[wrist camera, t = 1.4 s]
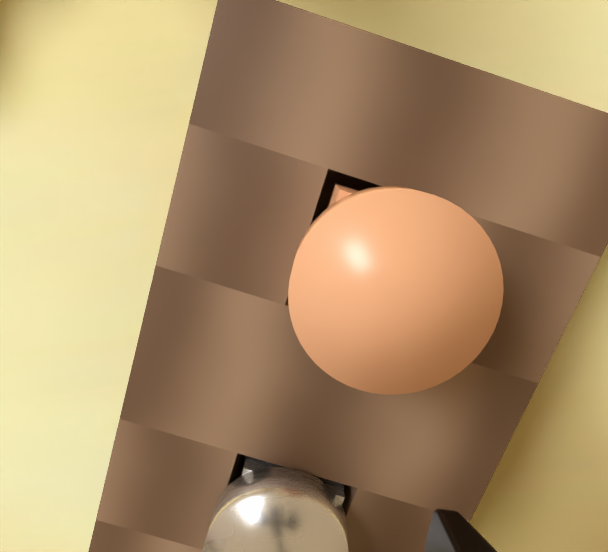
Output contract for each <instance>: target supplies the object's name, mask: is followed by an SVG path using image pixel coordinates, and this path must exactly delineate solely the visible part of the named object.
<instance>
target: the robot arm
mask: <svg viewBox="0 0 608 552" xmlns="http://www.w3.org/2000/svg"><path fill="white" fill-rule="evenodd" d="M425 552H497V551H496V550H495V549H494V548H493V547H492V546H491V545H490V544H489V543H488V542H487V541H486V540H485V539H484V538H483V537H482V536H481V534H480V533H479V532H478V531H477V530H476V529H475V528H474V527H473V526H472V525H471V524H470V523H469V522H468V521H467V520H466V519H465V518H464V517H463V516H462V515H461V514H460V513H459V512H457V511H454V510H447V509H440V508H438V509H436V510H435V511H434V512H433V515H432V519H431V523H430V526H429V530H428V534H427V538H426V542H425Z"/></svg>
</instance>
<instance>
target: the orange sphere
mask: <svg viewBox="0 0 608 552" xmlns="http://www.w3.org/2000/svg"><path fill="white" fill-rule="evenodd" d="M503 291H504V288H503V274H502V269H501V264H500V261H499V258H498V255H497V252H496V249H495V248H494V246H493V244H492V242H491V240H490V238H489V236H488V235H487V234H486V232H485V231H484V230H483V228H482V227H481V226H480V225H479V224H478V223H477V221H476V220H475V219H474V218H473V217H472V216H470V215H469V214H468V213H467V212H465V211H464V210H463V209H461V208H460V207H458V206H457V205H455V204H453V203H451V202H450V201H448V200H445V199H443V198H441V197H438V196H436V195H433V194H429V193H425V192H422V191H418V190H414V189H410V188H406V187H397V186H380V187H374V188H368V189H364V190H361V191H358V190H355V189H352V188H349V187H345V186H342V185H339V184H336V183H335V184H334V187H333V190H332V194H331V197H330V200H329V203H328V206H327V209H326V210H324V211H323V212H322V213H321V214H320V215H319V216H318V217H317V218H316V219H315V220H314V222H313V223H312V224H311V226H310V227H309V228H308V230H307V231H306V233H305V235H304V236H303V238H302V240H301V242H300V244H299V247H298V249H297V252H296V255H295V259H294V263H293V267H292V271H291V275H290V280H289V289H288V305H289V312H290V318H291V321H292V325H293V328H294V331H295V333H296V335H297V337H298V340H299V342H300V344H301V345H302V347H303V348H304V350H305V351H306V353H307V354H308V355H309V357H310V358H311V359H312V360H313V361H314V362H315V364H316V365H318V366H319V367H320V368H321V369H322V370H323V371H324V372H325V373H327V374H328V375H330V376H331V377H333V378H334V379H336V380H337V381H339V382H341V383H343V384H345V385H347V386H350V387H352V388H355V389H358V390H361V391H365V392H369V393H375V394H384V395H399V394H408V393H414V392H418V391H422V390H426V389H428V388H431V387H434V386H437V385H439V384H441V383H443V382H445V381H447V380H449V379H450V378H452V377H453V376H455V375H456V374H458V373H459V372H461V371H462V370H463V369H464V368H466V367H467V366H468V365H469V364H470V363H471V362H472V361H473V360H474V359H475V358H476V357H477V356H478V355H479V354H480V352H481V351H482V350H483V348H484V347H485V345H486V344H487V343H488V341H489V339H490V337H491V335H492V333H493V332H494V330H495V327H496V324H497V322H498V319H499V316H500V312H501V308H502V303H503Z"/></svg>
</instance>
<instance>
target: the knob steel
mask: <svg viewBox="0 0 608 552" xmlns="http://www.w3.org/2000/svg"><path fill="white" fill-rule="evenodd" d="M344 498H345V495H344V484H341V483H338V482H334V481H331V480H328V479H324V478H321V477H317V476H314V475H311V474H309V473H306V472H303V471H300V470H297V469H292V468H286V467H283V466H280V465H276V464H273V463H269V462H266V461H262V460H259V459H256V458H252V457H249V456H245V455H244V457H243V460H242V463H241V466H240V469H239V472H238V475H237V478H236V480H234V481H233V482H232V483H231V484H230V485H228V486H227V487H226V489H225V490H224V491H223V492H222V494H221V496H220V497H219V499H218V501H217V504H216V506H215V510H214V513H213V516H212V519H211V523H210V526H209V529H208V533H207V536H206V539H205V544H204V549H203V552H349V551H348V538H347V525H346V517H345V512H344V509H343V506H342V503H343V501H344Z"/></svg>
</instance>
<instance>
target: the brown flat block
mask: <svg viewBox="0 0 608 552" xmlns="http://www.w3.org/2000/svg"><path fill="white" fill-rule="evenodd" d="M335 183H336V184H339V185H342V186H345V187H349V188H352V189H355V190H358V191H361V190H364V189H368V188H374V187H380V186H397V187H406V188H410V189H414V190H418V191H422V192H425V193H429V194H433V195H436V196H438V197H441V198H443V199H445V200H448V201H450V202H451V203H453V204H455V205H457V206H458V207H460V208H461V209H463V210H464V211H465V212H467V213H468V214H469V215H470V216H472V217H473V218H474V219H475V220H476V221H477V223H478V224H479V225H480V226H481V227H482V228H483V230H484V231H485V232H486V234H487V235H488V236H489V238H490V240H491V242H492V244H493V246H494V248H495V249H496V252H497V255H498V258H499V261H500V264H501V269H502V274H503V288H504V291H503V303H502V308H501V312H500V316H499V319H498V322H497V324H496V327H495V330H494V332H493V333H492V335H491V337H490V339H489V341H488V343H487V344H486V345H485V347H484V348H483V350H482V351H481V352H480V354H479V355H478V356H477V357H476V358H475V359H474V360H473V361H472V362H471V363H470V364H469V365H468V366H467V367H466V368H464V369H463V370H462V371H461V372H459V373H458V374H456V375H455V376H453V377H452V378H450V379H449V380H447V381H445V382H443V383H441V384H439V385H437V386H434V387H431V388H428V389H426V390H422V391H418V392H414V393H408V394H399V395H384V394H375V393H369V392H365V391H361V390H358V389H355V388H352V387H350V386H347V385H345V384H343V383H341V382H339V381H337V380H336V379H334V378H333V377H331V376H330V375H328V374H327V373H325V372H324V371H323V370H322V369H321V368H320V367H319V366H318V365H316V364H315V362H314V361H313V360H312V359H311V358H310V357H309V355H308V354H307V353H306V351H305V350H304V348H303V347H302V345H301V344H300V342H299V340H298V337H297V335H296V333H295V331H294V328H293V325H292V321H291V318H290V312H289V305H288V289H289V280H290V275H291V271H292V267H293V263H294V259H295V255H296V252H297V249H298V247H299V244H300V242H301V240H302V238H303V236H304V235H305V233H306V231H307V230H308V228H309V227H310V226H311V224H312V223H313V222H314V220H315V219H316V218H317V217H318V216H319V215H320V214H321V213H322V212H323V211H324V210H326V209H327V206H328V203H329V200H330V197H331V194H332V190H333V187H334V184H335ZM607 243H608V113H606V112H603V111H600V110H597V109H594V108H591V107H588V106H585V105H582V104H579V103H576V102H573V101H570V100H567V99H564V98H561V97H558V96H555V95H552V94H550V93H547V92H544V91H541V90H538V89H535V88H532V87H529V86H526V85H523V84H520V83H517V82H514V81H511V80H508V79H505V78H502V77H499V76H497V75H494V74H491V73H488V72H485V71H482V70H479V69H476V68H473V67H470V66H467V65H464V64H461V63H458V62H455V61H452V60H449V59H446V58H443V57H441V56H438V55H435V54H432V53H429V52H426V51H423V50H420V49H417V48H414V47H411V46H408V45H405V44H402V43H399V42H396V41H393V40H390V39H388V38H385V37H382V36H379V35H376V34H373V33H370V32H367V31H364V30H361V29H358V28H355V27H352V26H349V25H346V24H343V23H340V22H337V21H335V20H332V19H329V18H326V17H323V16H320V15H317V14H314V13H311V12H308V11H305V10H302V9H299V8H296V7H293V6H290V5H287V4H284V3H281V2H279V1H276V0H218V2H217V7H216V11H215V15H214V19H213V24H212V28H211V32H210V37H209V41H208V45H207V49H206V54H205V58H204V62H203V66H202V71H201V75H200V79H199V83H198V88H197V92H196V96H195V100H194V105H193V109H192V113H191V117H190V122H189V126H188V130H187V135H186V139H185V143H184V147H183V152H182V156H181V160H180V164H179V169H178V173H177V177H176V181H175V186H174V190H173V194H172V198H171V203H170V207H169V211H168V216H167V220H166V224H165V228H164V233H163V237H162V241H161V245H160V250H159V254H158V258H157V262H156V267H155V271H154V275H153V279H152V284H151V288H150V292H149V296H148V301H147V305H146V309H145V314H144V318H143V322H142V326H141V331H140V335H139V339H138V343H137V348H136V352H135V356H134V360H133V365H132V369H131V373H130V377H129V382H128V386H127V390H126V394H125V399H124V403H123V407H122V412H121V416H120V420H119V424H118V429H117V433H116V437H115V441H114V446H113V450H112V454H111V458H110V463H109V467H108V471H107V475H106V480H105V484H104V488H103V493H102V497H101V501H100V505H99V510H98V514H97V518H96V522H95V527H94V531H93V535H92V539H91V544H90V548H89V552H203V549H204V544H205V539H206V536H207V533H208V529H209V526H210V523H211V519H212V516H213V513H214V510H215V506H216V504H217V501H218V499H219V497H220V496H221V494H222V492H223V491H224V490H225V489H226V487H227V486H228V485H230V484H231V483H232V482H233V481H234V480H236V478H237V475H238V472H239V469H240V466H241V463H242V460H243V457H244V455H245V456H249V457H252V458H256V459H259V460H262V461H266V462H269V463H273V464H276V465H280V466H283V467H286V468H292V469H297V470H300V471H303V472H306V473H309V474H311V475H314V476H317V477H321V478H324V479H328V480H331V481H334V482H338V483H341V484H344V495H345V498H344V501H343V503H342V506H343V509H344V512H345V517H346V525H347V538H348V551H349V552H425V542H426V538H427V534H428V530H429V526H430V523H431V519H432V515H433V512H434V511H435V510H436V509H438V508H440V509H447V510H454V511H457V512H459V513H460V514H461V515H462V516H463V517H464V518H465V519H466V520H467V521H468V522H470V520H471V518H472V516H473V514H474V512H475V510H476V508H477V506H478V504H479V502H480V500H481V498H482V496H483V494H484V492H485V490H486V488H487V486H488V484H489V482H490V480H491V478H492V475H493V473H494V471H495V469H496V467H497V465H498V463H499V461H500V459H501V457H502V455H503V453H504V451H505V449H506V447H507V445H508V443H509V441H510V439H511V437H512V435H513V433H514V431H515V429H516V427H517V425H518V423H519V421H520V419H521V417H522V415H523V413H524V411H525V409H526V407H527V405H528V403H529V401H530V399H531V397H532V395H533V393H534V391H535V389H536V387H537V385H538V383H539V381H540V379H541V377H542V375H543V373H544V370H545V368H546V366H547V364H548V362H549V360H550V358H551V356H552V354H553V352H554V350H555V348H556V346H557V344H558V342H559V340H560V338H561V336H562V334H563V332H564V330H565V328H566V326H567V324H568V322H569V320H570V318H571V316H572V314H573V312H574V310H575V308H576V306H577V304H578V302H579V300H580V298H581V296H582V294H583V292H584V290H585V288H586V286H587V284H588V282H589V280H590V278H591V276H592V274H593V272H594V270H595V267H596V265H597V263H598V261H599V259H600V257H601V255H602V253H603V251H604V249H605V247H606V245H607Z"/></svg>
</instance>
